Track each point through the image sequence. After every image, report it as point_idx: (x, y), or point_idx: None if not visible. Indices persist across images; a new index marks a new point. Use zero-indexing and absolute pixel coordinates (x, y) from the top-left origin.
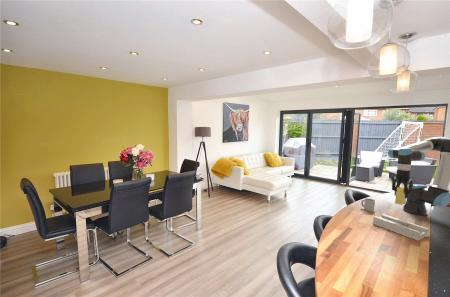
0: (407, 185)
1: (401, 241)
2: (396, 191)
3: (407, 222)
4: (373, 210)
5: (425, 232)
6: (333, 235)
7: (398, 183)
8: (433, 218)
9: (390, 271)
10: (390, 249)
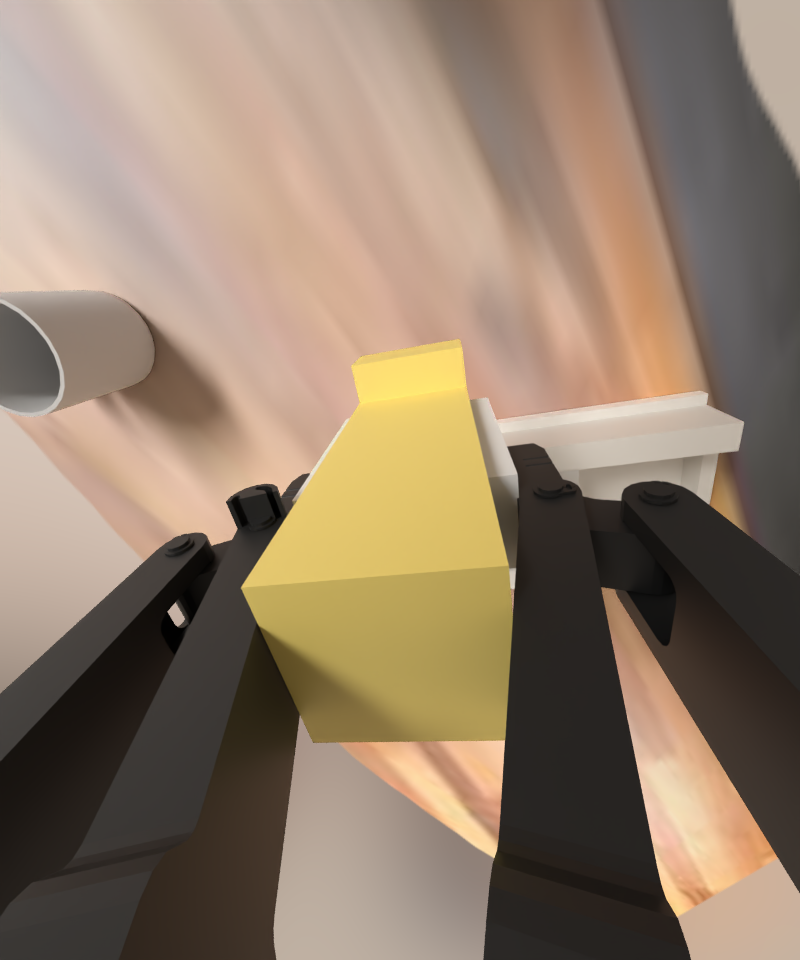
0: (632, 763)
1: (622, 630)
2: None
3: (563, 464)
4: (144, 330)
5: (714, 461)
6: (439, 795)
7: (254, 914)
8: None
9: (705, 824)
10: (632, 728)
